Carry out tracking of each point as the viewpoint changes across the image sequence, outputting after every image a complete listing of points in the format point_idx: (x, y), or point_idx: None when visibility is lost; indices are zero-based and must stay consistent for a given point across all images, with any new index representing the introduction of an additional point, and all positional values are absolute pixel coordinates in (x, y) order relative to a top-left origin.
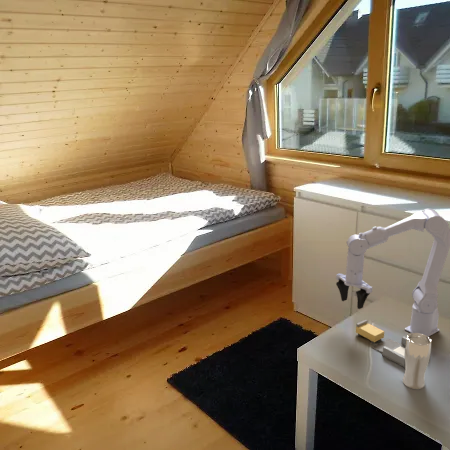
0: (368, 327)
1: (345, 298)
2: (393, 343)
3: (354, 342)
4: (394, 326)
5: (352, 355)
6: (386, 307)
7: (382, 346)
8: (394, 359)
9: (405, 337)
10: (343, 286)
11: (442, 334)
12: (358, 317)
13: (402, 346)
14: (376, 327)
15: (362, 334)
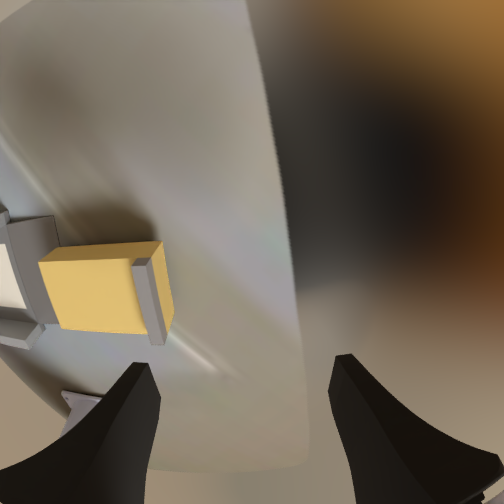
0: (111, 302)
1: (335, 393)
2: (47, 307)
3: (113, 174)
4: None
5: (49, 91)
6: (266, 446)
7: (41, 258)
8: None
9: (23, 347)
10: (397, 502)
11: None
12: (284, 358)
13: (24, 312)
14: (99, 331)
15: (115, 246)
